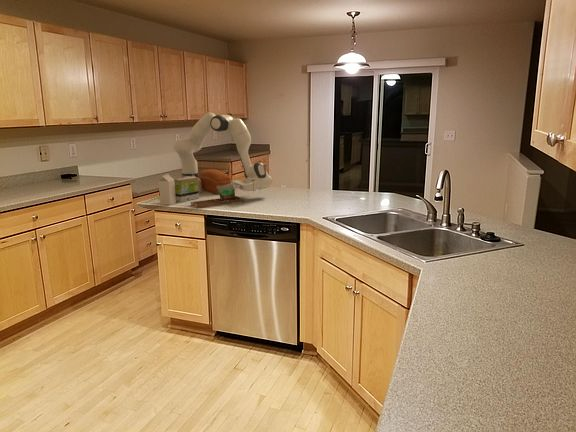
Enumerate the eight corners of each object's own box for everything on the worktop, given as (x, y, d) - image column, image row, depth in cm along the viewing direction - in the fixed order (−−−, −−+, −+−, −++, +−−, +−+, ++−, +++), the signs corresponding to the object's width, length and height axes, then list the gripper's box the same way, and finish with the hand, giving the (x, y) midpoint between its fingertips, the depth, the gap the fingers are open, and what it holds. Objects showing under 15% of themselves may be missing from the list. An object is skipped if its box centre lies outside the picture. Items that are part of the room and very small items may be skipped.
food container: (219, 202, 271) (217, 186, 269) (218, 200, 277) (215, 185, 274) (238, 198, 274) (236, 183, 271) (237, 196, 280) (234, 181, 277)
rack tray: (191, 205, 268) (190, 202, 267) (236, 199, 284) (236, 196, 284) (197, 208, 259) (197, 205, 259) (243, 201, 276) (243, 198, 275)
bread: (211, 186, 332) (210, 166, 328) (234, 192, 307) (233, 170, 304) (195, 188, 323) (193, 168, 319) (217, 195, 299) (216, 173, 295)
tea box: (182, 202, 276) (180, 179, 273) (172, 200, 282) (170, 178, 278) (199, 198, 288) (198, 176, 284) (190, 196, 294) (188, 175, 290)
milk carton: (176, 202, 275) (173, 173, 270) (170, 205, 268) (167, 175, 264) (166, 202, 277) (163, 173, 272) (160, 204, 270) (157, 174, 266)
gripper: (242, 177, 289) (223, 179, 282) (256, 181, 273) (237, 183, 266) (242, 186, 291) (223, 188, 284) (257, 191, 274) (237, 193, 267)
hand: (230, 186), depth 275 cm, fingers closed on food container, 5 cm apart
